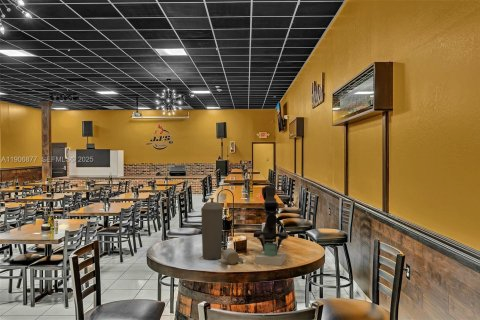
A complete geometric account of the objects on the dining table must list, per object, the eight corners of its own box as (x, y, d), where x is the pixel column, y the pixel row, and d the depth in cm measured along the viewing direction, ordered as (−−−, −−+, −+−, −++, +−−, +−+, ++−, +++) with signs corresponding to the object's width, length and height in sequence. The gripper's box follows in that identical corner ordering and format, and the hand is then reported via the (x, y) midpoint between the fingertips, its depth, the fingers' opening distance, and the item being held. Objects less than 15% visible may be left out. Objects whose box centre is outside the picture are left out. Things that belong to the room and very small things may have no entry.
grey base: (262, 258, 250) (262, 251, 250) (285, 259, 245) (285, 252, 245) (255, 263, 236) (255, 256, 236) (280, 265, 232) (280, 258, 232)
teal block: (266, 253, 245) (266, 242, 245) (277, 253, 243) (277, 243, 243) (264, 255, 239) (264, 244, 239) (274, 256, 237) (274, 245, 237)
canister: (198, 260, 245) (198, 198, 245) (203, 255, 258) (203, 196, 258) (220, 260, 244) (220, 198, 244) (224, 255, 256) (224, 197, 256)
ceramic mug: (226, 265, 233) (227, 251, 233) (222, 262, 241) (222, 248, 241) (245, 264, 236) (245, 250, 236) (240, 261, 244) (240, 247, 244)
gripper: (250, 223, 236) (250, 252, 236) (284, 225, 230) (284, 254, 230) (256, 220, 247) (256, 248, 247) (288, 222, 241) (288, 250, 241)
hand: (270, 250), depth 241 cm, fingers open, 8 cm apart
